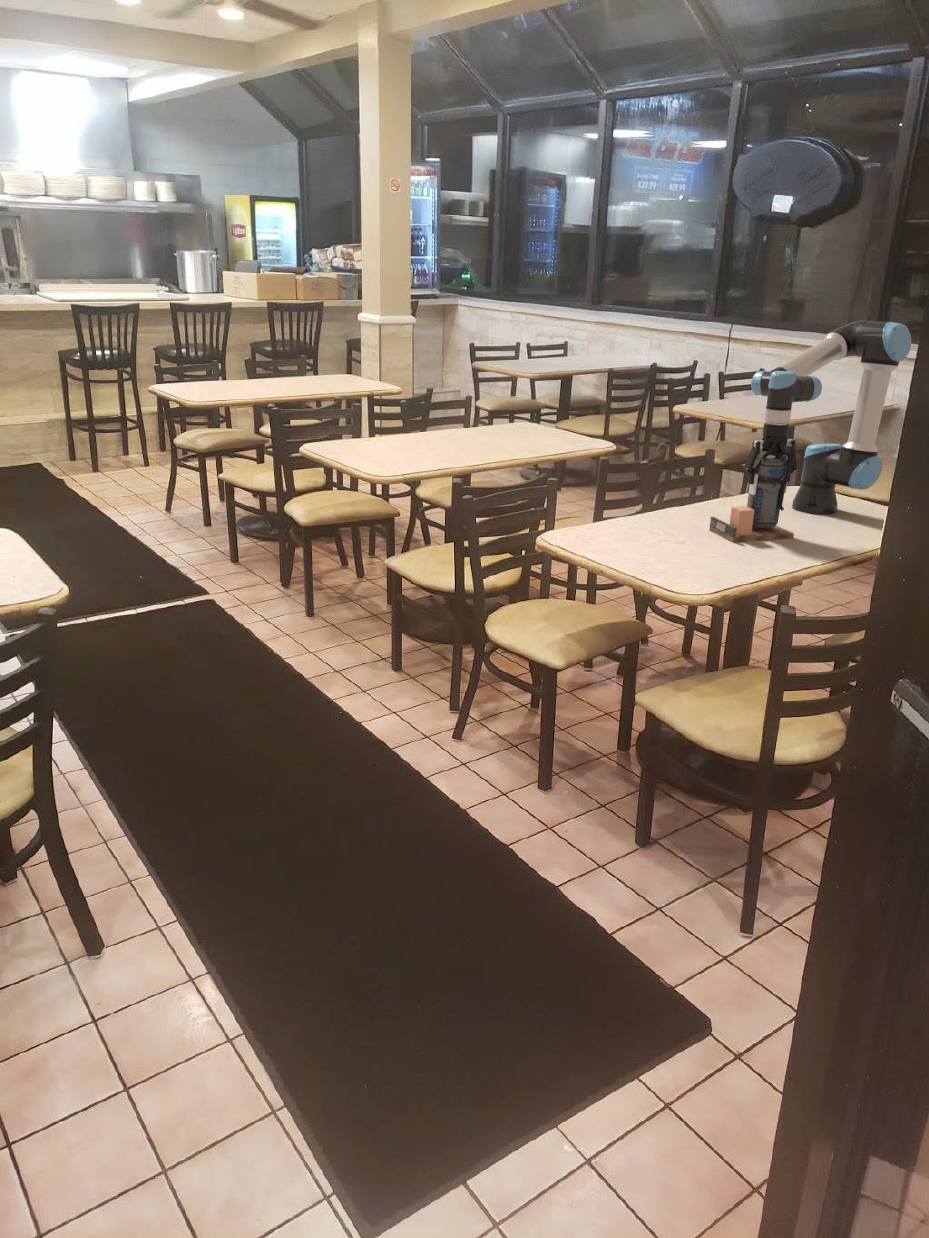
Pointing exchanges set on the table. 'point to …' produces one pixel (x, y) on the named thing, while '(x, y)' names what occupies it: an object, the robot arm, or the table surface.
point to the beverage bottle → (770, 489)
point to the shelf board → (756, 534)
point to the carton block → (742, 520)
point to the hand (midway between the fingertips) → (767, 493)
